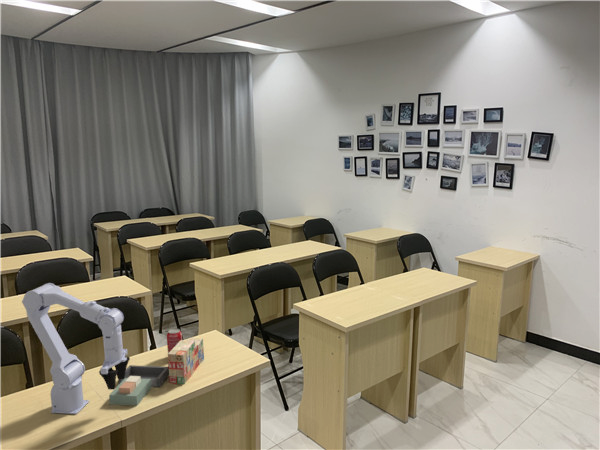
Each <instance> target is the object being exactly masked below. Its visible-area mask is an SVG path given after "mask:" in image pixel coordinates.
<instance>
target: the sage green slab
mask: <svg viewBox="0 0 600 450" xmlns="http://www.w3.org/2000/svg"><path fill="white" fill-rule="evenodd" d="M127 379H128V378H125V379H124V380H123V381H122V382H121V383H120V384H119V383H118V385H117V386H115V389H114V390H113V389H112V392H111V393H109V395H108V397H109V405H116V406H117V405H121V406H138V405H139V404H140V403H141V402H142V400H143V399H144V398H145V396H146V395H147V394H148V393H149V391H150V390H151V389H152V388H153V387H151V379H141V382H140V383H139V384H138V385H137V386H136V387H135V389H134V390H133V391H132V392H131V393H130V394H129V393H119V387H120V386H121V385H122V384H123V383H124V382H125V381H126V380H127Z"/></svg>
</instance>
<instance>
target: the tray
mask: <svg viewBox="0 0 600 450" xmlns="http://www.w3.org/2000/svg"><path fill="white" fill-rule="evenodd" d="M130 376H141V379H151V387H152V388H161V386H162V385H163V384H164V382H165V381H166V380H167V378H169V368H168V366H162V365H161V366H159V365H131V364H129V365H128V366H127V368H126V373H125V378H129V377H130ZM125 378H124V379H125ZM124 379H118V378H117V380H118V385H119V384H120V383H121V382H122V381H123V380H124Z"/></svg>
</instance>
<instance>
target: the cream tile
mask: <svg viewBox="0 0 600 450" xmlns="http://www.w3.org/2000/svg"><path fill="white" fill-rule="evenodd" d="M125 382H135V387H136V386H137V385H138V384H139V383H140V382H141V376H130V377H129V378H128V379H127V380H126V381H125Z"/></svg>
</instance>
